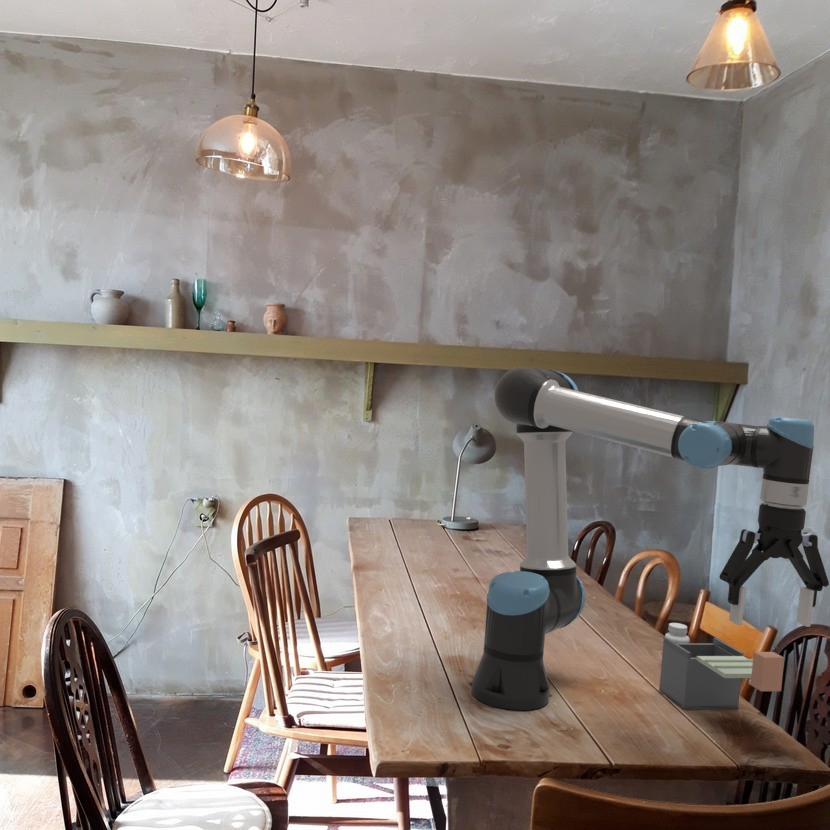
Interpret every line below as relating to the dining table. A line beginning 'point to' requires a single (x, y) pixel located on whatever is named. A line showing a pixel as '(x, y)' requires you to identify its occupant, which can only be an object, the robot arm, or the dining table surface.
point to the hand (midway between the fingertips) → (769, 623)
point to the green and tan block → (749, 668)
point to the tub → (697, 676)
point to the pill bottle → (677, 633)
